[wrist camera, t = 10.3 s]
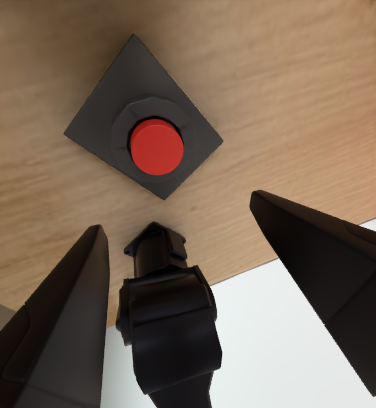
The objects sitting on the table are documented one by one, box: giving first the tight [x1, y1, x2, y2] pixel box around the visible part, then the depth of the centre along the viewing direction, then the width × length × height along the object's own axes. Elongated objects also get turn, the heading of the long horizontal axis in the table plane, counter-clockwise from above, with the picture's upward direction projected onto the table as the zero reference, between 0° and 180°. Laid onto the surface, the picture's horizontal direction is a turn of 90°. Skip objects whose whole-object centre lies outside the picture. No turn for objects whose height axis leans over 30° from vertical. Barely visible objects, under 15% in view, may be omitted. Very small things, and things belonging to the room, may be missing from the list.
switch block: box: [64, 34, 223, 200], centre depth 17 cm, size 9×11×4 cm
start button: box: [131, 119, 183, 175], centre depth 15 cm, size 4×4×2 cm
